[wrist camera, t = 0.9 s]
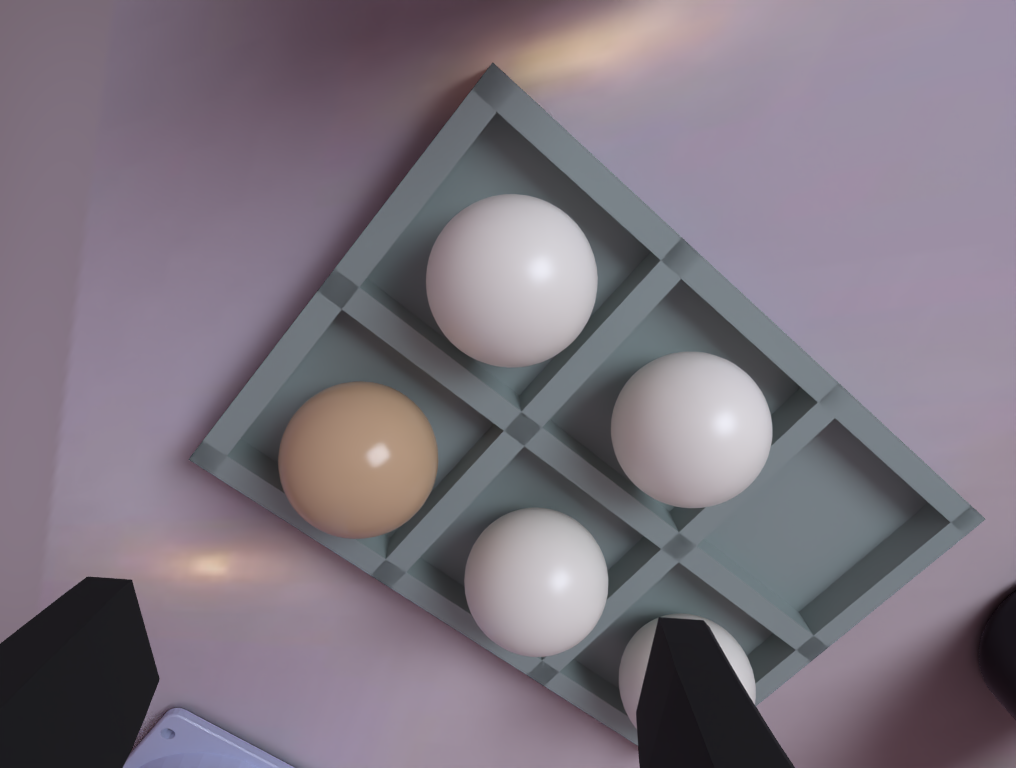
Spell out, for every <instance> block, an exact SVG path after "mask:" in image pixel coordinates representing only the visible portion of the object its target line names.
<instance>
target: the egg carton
mask: <svg viewBox="0 0 1016 768" xmlns="http://www.w3.org/2000/svg"><path fill="white" fill-rule="evenodd" d="M354 381H366V382H374V383H379V384H383V385H386V386H389V387H391V388H393V389H395V390H397V391H399V392H401V393H403V394H404V395H406V396H407V397H408V398H410V399H411V400H412V401H413V402H414V403H415V404H416V405H417V406H418V407H419V408H420V409H421V410H422V412H423V413H424V414H425V416H426V417H427V419H428V421H429V423H430V424H431V426H432V429H433V432H434V435H435V438H436V442H437V446H438V471H437V475H436V479H435V483H434V486H433V488H432V491H431V493H430V495H429V496H428V498H427V500H426V501H425V503H424V505H423V506H422V507H421V508H420V510H419V511H418V512H417V513H416V514H415V515H414V516H413V517H412V518H411V519H410V520H409V521H407V522H406V523H404V524H403V525H402V526H400V527H398V528H396V529H395V530H393V531H391V532H388V533H386V534H383V535H380V536H377V537H372V538H365V539H348V538H341V537H336V536H333V535H330V534H327V533H325V532H323V531H321V530H319V529H317V528H315V527H314V526H312V525H311V524H309V523H308V522H307V521H305V520H304V519H303V518H302V517H301V516H300V515H299V514H298V513H297V512H296V511H295V509H294V508H293V507H292V505H291V504H290V502H289V500H288V499H287V497H286V494H285V492H284V490H283V488H282V484H281V481H280V475H279V469H278V455H279V448H280V443H281V439H282V436H283V434H284V431H285V429H286V427H287V425H288V423H289V421H290V420H291V418H292V417H293V415H294V414H295V413H296V411H297V410H298V409H299V408H300V407H301V406H302V405H303V404H304V403H305V402H306V401H307V400H309V399H310V398H311V397H312V396H314V395H316V394H317V393H319V392H321V391H322V390H324V389H327V388H329V387H331V386H334V385H338V384H341V383H347V382H354ZM189 460H190V461H192V462H193V463H195V464H196V465H198V466H200V467H201V468H203V469H204V470H206V471H207V472H209V473H211V474H212V475H214V476H215V477H217V478H218V479H220V480H222V481H223V482H225V483H226V484H228V485H229V486H231V487H233V488H234V489H236V490H237V491H239V492H240V493H242V494H243V495H245V496H247V497H248V498H250V499H251V500H253V501H254V502H256V503H258V504H259V505H261V506H262V507H264V508H265V509H267V510H269V511H270V512H272V513H273V514H275V515H276V516H278V517H280V518H281V519H283V520H284V521H286V522H287V523H289V524H291V525H292V526H294V527H295V528H297V529H298V530H300V531H302V532H303V533H305V534H306V535H308V536H309V537H311V538H313V539H314V540H316V541H317V542H319V543H320V544H322V545H324V546H325V547H327V548H328V549H330V550H331V551H333V552H334V553H336V554H338V555H339V556H341V557H342V558H344V559H345V560H347V561H349V562H350V563H352V564H353V565H355V566H356V567H358V568H360V569H361V570H363V571H364V572H366V573H367V574H369V575H371V576H372V577H374V578H375V579H377V580H378V581H380V582H382V583H383V584H385V585H386V586H388V587H389V588H391V589H393V590H394V591H396V592H397V593H399V594H400V595H402V596H404V597H405V598H407V599H408V600H410V601H411V602H413V603H415V604H416V605H418V606H419V607H421V608H422V609H424V610H425V611H427V612H429V613H430V614H432V615H433V616H435V617H436V618H438V619H440V620H441V621H443V622H444V623H446V624H447V625H449V626H451V627H452V628H454V629H455V630H457V631H458V632H460V633H462V634H463V635H465V636H466V637H468V638H469V639H471V640H473V641H474V642H476V643H477V644H479V645H480V646H482V647H484V648H485V649H487V650H488V651H490V652H491V653H493V654H495V655H496V656H498V657H499V658H501V659H502V660H504V661H505V662H507V663H509V664H510V665H512V666H513V667H515V668H516V669H518V670H520V671H521V672H523V673H524V674H526V675H527V676H529V677H531V678H532V679H534V680H535V681H537V682H538V683H540V684H542V685H543V686H545V687H546V688H548V689H549V690H551V691H553V692H554V693H556V694H557V695H559V696H560V697H562V698H564V699H565V700H567V701H568V702H570V703H571V704H573V705H575V706H576V707H578V708H579V709H581V710H582V711H584V712H586V713H587V714H589V715H590V716H592V717H593V718H595V719H596V720H598V721H600V722H601V723H603V724H604V725H606V726H607V727H609V728H611V729H612V730H614V731H615V732H617V733H618V734H620V735H622V736H623V737H625V738H626V739H628V740H629V741H631V742H633V743H634V744H636V745H637V746H638V736H637V722H636V710H637V706H638V702H639V698H640V693H641V689H642V685H643V681H644V677H645V672H646V668H647V664H648V660H649V656H650V651H651V647H652V643H653V639H654V635H655V630H656V626H657V622H658V618H659V617H665V618H679V619H694V620H704V621H705V622H706V624H707V625H708V626H709V627H710V629H711V631H712V632H713V634H714V636H715V638H716V640H717V641H718V643H719V645H720V647H721V648H722V650H723V652H724V654H725V655H726V657H727V659H728V661H729V662H730V664H731V666H732V668H733V669H734V671H735V673H736V674H737V676H738V678H739V680H740V681H741V683H742V685H743V686H744V688H745V690H746V691H747V693H748V695H749V696H750V698H751V700H752V701H753V703H754V704H755V706H757V705H758V704H759V703H760V702H762V701H763V700H764V699H765V698H767V697H768V696H769V695H770V694H772V693H773V692H774V691H775V690H776V689H778V688H779V687H780V686H781V685H783V684H784V683H785V682H786V681H787V680H789V679H790V678H791V677H792V676H794V675H795V674H796V673H797V672H799V671H800V670H801V669H802V668H803V667H805V666H806V665H807V664H808V663H810V662H811V661H812V660H813V659H815V658H816V657H817V656H818V655H819V654H821V653H822V652H823V651H824V650H826V649H827V648H828V647H829V646H830V645H832V644H833V643H834V642H835V641H837V640H838V639H839V638H840V637H842V636H843V635H844V634H845V633H846V632H848V631H849V630H850V629H851V628H853V627H854V626H855V625H856V624H858V623H859V622H860V621H861V620H862V619H864V618H865V617H866V616H867V615H869V614H870V613H871V612H872V611H874V610H875V609H876V608H877V607H878V606H880V605H881V604H882V603H883V602H885V601H886V600H887V599H888V598H889V597H891V596H892V595H893V594H894V593H896V592H897V591H898V590H899V589H901V588H902V587H903V586H904V585H905V584H907V583H908V582H909V581H910V580H912V579H913V578H914V577H915V576H917V575H918V574H919V573H920V572H921V571H923V570H924V569H925V568H926V567H928V566H929V565H930V564H931V563H932V562H934V561H935V560H936V559H937V558H939V557H940V556H941V555H942V554H944V553H945V552H946V551H947V550H948V549H950V548H951V547H952V546H953V545H955V544H956V543H957V542H958V541H960V540H961V539H962V538H963V537H964V536H966V535H967V534H968V533H969V532H971V531H972V530H973V529H974V528H976V527H977V526H978V525H979V524H980V523H982V522H983V521H984V520H985V518H984V517H983V516H982V515H980V514H979V513H978V512H977V511H976V510H975V509H974V508H973V507H972V506H971V505H970V504H969V503H968V502H966V501H965V500H964V499H963V498H962V497H961V496H960V495H959V494H958V493H957V492H956V491H955V490H954V489H952V488H951V487H950V486H949V485H948V484H947V483H946V482H945V481H944V480H943V479H942V478H941V477H939V476H938V475H937V474H936V473H935V472H934V471H933V470H932V469H931V468H930V467H929V466H928V465H927V464H925V463H924V462H923V461H922V460H921V459H920V458H919V457H918V456H917V455H916V454H915V453H914V452H913V451H911V450H910V449H909V448H908V447H907V446H906V445H905V444H904V443H903V442H902V441H901V440H900V439H899V438H897V437H896V436H895V435H894V434H893V433H892V432H891V431H890V430H889V429H888V428H887V427H886V426H884V425H883V424H882V423H881V422H880V421H879V420H878V419H877V418H876V417H875V416H874V415H873V414H872V413H870V412H869V411H868V410H867V409H866V408H865V407H864V406H863V405H862V404H861V403H860V402H859V401H858V400H856V399H855V398H854V397H853V396H852V395H851V394H850V393H849V392H848V391H847V390H846V389H845V388H843V387H842V386H841V385H840V384H839V383H838V382H837V381H836V380H835V379H834V378H833V377H832V376H831V375H829V374H828V373H827V372H826V371H825V370H824V369H823V368H822V367H821V366H820V365H819V364H818V363H817V362H815V361H814V360H813V359H812V358H811V357H810V356H809V355H808V354H807V353H806V352H805V351H804V350H803V349H801V348H800V347H799V346H798V345H797V344H796V343H795V342H794V341H793V340H792V339H791V338H790V337H788V336H787V335H786V334H785V333H784V332H783V331H782V330H781V329H780V328H779V327H778V326H777V325H776V324H774V323H773V322H772V321H771V320H770V319H769V318H768V317H767V316H766V315H765V314H764V313H763V312H762V311H760V310H759V309H758V308H757V307H756V306H755V305H754V304H753V303H752V302H751V301H750V300H749V299H747V298H746V297H745V296H744V295H743V294H742V293H741V292H740V291H739V290H738V289H737V288H736V287H735V286H733V285H732V284H731V283H730V282H729V281H728V280H727V279H726V278H725V277H724V276H723V275H722V274H721V273H719V272H718V271H717V270H716V269H715V268H714V267H713V266H712V265H711V264H710V263H709V262H708V261H707V260H705V259H704V258H703V257H702V256H701V255H700V254H699V253H698V252H697V251H696V250H695V249H694V248H692V247H691V246H690V245H689V244H688V243H687V242H686V241H685V240H684V239H683V238H682V237H681V236H680V235H678V234H677V233H676V232H675V231H674V230H673V229H672V228H671V227H670V226H669V225H668V224H667V223H666V222H664V221H663V220H662V219H661V218H660V217H659V216H658V215H657V214H656V213H655V212H654V211H653V210H651V209H650V208H649V207H648V206H647V205H646V204H645V203H644V202H643V201H642V200H641V199H640V198H639V197H637V196H636V195H635V194H634V193H633V192H632V191H631V190H630V189H629V188H628V187H627V186H626V185H625V184H623V183H622V182H621V181H620V180H619V179H618V178H617V177H616V176H615V175H614V174H613V173H612V172H610V171H609V170H608V169H607V168H606V167H605V166H604V165H603V164H602V163H601V162H600V161H599V160H598V159H596V158H595V157H594V156H593V155H592V154H591V153H590V152H589V151H588V150H587V149H586V148H585V147H584V146H582V145H581V144H580V143H579V142H578V141H577V140H576V139H575V138H574V137H573V136H572V135H571V134H570V133H568V132H567V131H566V130H565V129H564V128H563V127H562V126H561V125H560V124H559V123H558V122H557V121H555V120H554V119H553V118H552V117H551V116H550V115H549V114H548V113H547V112H546V111H545V110H544V109H543V108H541V107H540V106H539V105H538V104H537V103H536V102H535V101H534V100H533V99H532V98H531V97H530V96H529V95H527V94H526V93H525V92H524V91H523V90H522V89H521V88H520V87H519V86H518V85H517V84H516V83H514V82H513V81H512V80H511V79H510V78H509V77H508V76H507V75H506V74H505V73H504V72H503V71H502V70H500V69H499V68H498V67H497V66H496V65H495V64H494V63H492V64H491V65H490V67H489V68H488V69H487V71H486V72H485V73H484V74H483V76H482V77H481V78H480V80H479V81H478V82H477V84H476V85H475V86H474V88H473V89H472V90H471V91H470V93H469V94H468V95H467V97H466V98H465V99H464V101H463V102H462V103H461V105H460V106H459V107H458V108H457V110H456V111H455V112H454V114H453V115H452V116H451V118H450V119H449V120H448V121H447V123H446V124H445V125H444V127H443V128H442V129H441V131H440V132H439V133H438V135H437V136H436V137H435V138H434V140H433V141H432V142H431V144H430V145H429V146H428V148H427V149H426V150H425V151H424V153H423V154H422V155H421V157H420V158H419V159H418V161H417V162H416V163H415V165H414V166H413V167H412V168H411V170H410V171H409V172H408V174H407V175H406V176H405V178H404V179H403V180H402V181H401V183H400V184H399V185H398V187H397V188H396V189H395V191H394V192H393V193H392V195H391V196H390V197H389V198H388V200H387V201H386V202H385V204H384V205H383V206H382V208H381V209H380V210H379V212H378V213H377V214H376V215H375V217H374V218H373V219H372V221H371V222H370V223H369V225H368V226H367V227H366V228H365V230H364V231H363V232H362V234H361V235H360V236H359V238H358V239H357V240H356V242H355V243H354V244H353V245H352V247H351V248H350V249H349V251H348V252H347V253H346V255H345V256H344V257H343V258H342V260H341V261H340V262H339V264H338V265H337V266H336V268H335V269H334V270H333V272H332V273H331V274H330V275H329V277H328V278H327V279H326V281H325V282H324V283H323V285H322V286H321V287H320V289H319V290H318V291H317V292H316V294H315V295H314V296H313V298H312V299H311V300H310V302H309V303H308V304H307V305H306V307H305V308H304V309H303V311H302V312H301V313H300V315H299V316H298V317H297V319H296V320H295V321H294V322H293V324H292V325H291V326H290V328H289V329H288V330H287V332H286V333H285V334H284V335H283V337H282V338H281V339H280V341H279V342H278V343H277V345H276V346H275V347H274V349H273V350H272V351H271V352H270V354H269V355H268V356H267V358H266V359H265V360H264V362H263V363H262V364H261V366H260V367H259V368H258V369H257V371H256V372H255V373H254V375H253V376H252V377H251V379H250V380H249V381H248V382H247V384H246V385H245V386H244V388H243V389H242V390H241V392H240V393H239V394H238V396H237V397H236V398H235V399H234V401H233V402H232V403H231V405H230V406H229V407H228V409H227V410H226V411H225V412H224V414H223V415H222V416H221V418H220V419H219V420H218V422H217V423H216V424H215V426H214V427H213V428H212V429H211V431H210V432H209V433H208V435H207V436H206V437H205V439H204V440H203V441H202V443H201V444H200V445H199V446H198V448H197V449H196V450H195V452H194V453H193V454H192V456H191V457H190V458H189Z"/></svg>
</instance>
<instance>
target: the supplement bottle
mask: <svg viewBox="0 0 1016 768" xmlns="http://www.w3.org/2000/svg"><path fill="white" fill-rule="evenodd" d="M979 666H980V670H981V674H982V677H983V679H984V681H985V683H986V685H987V687H988V688H989V689H990V691H991V692H992V693H993V695H994V696H995V697H996V698H997V699H998V701H999V702H1000V703H1001V704H1002V705H1003V706H1004V707H1005V709H1006V710H1007V711H1008V712H1009V713H1010V714H1011V716H1012V717H1013V718H1014V719H1015V720H1016V591H1014V592H1013V593H1012V594H1011V595H1010V596H1009V597H1008V598H1006V599H1005V600H1004V601H1003V602H1002V604H1001V605H1000V606H999V607H998V608H997V609H996V611H995V612H994V613H993V615H992V616H991V618H990V619H989V621H988V623H987V625H986V627H985V629H984V631H983V634H982V637H981V641H980V645H979Z"/></svg>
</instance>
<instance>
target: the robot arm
mask: <svg viewBox="0 0 1016 768" xmlns="http://www.w3.org/2000/svg"><path fill="white" fill-rule="evenodd" d="M158 682H159V675H158V672H157V668H156V665H155V661H154V657H153V654H152V650H151V647H150V643H149V640H148V636H147V632H146V629H145V625H144V622H143V618H142V615H141V611H140V607H139V604H138V600H137V597H136V593H135V590H134V586H133V582H132V580H127V579H113V578H99V577H86V578H85V579H84V580H82V581H81V582H80V583H78V584H77V585H76V586H74V587H73V588H72V589H70V590H69V591H68V592H66V593H65V594H64V595H62V596H61V597H60V598H58V599H57V600H56V601H55V602H53V603H52V604H51V605H49V606H48V607H47V608H45V609H44V610H43V611H42V612H40V613H39V614H38V615H36V616H35V617H34V618H33V619H31V620H30V621H29V622H28V623H26V624H25V625H24V626H22V627H21V628H20V629H19V630H17V631H16V632H15V633H14V634H12V635H11V636H10V637H8V638H7V639H6V640H4V641H3V642H2V643H1V644H0V768H295V767H293V766H291V765H289V764H287V763H285V762H283V761H281V760H280V759H278V758H276V757H274V756H272V755H270V754H268V753H266V752H264V751H263V750H261V749H259V748H257V747H255V746H253V745H251V744H249V743H247V742H246V741H244V740H242V739H240V738H238V737H236V736H234V735H232V734H230V733H229V732H227V731H225V730H223V729H221V728H219V727H217V726H215V725H213V724H212V723H210V722H208V721H206V720H204V719H202V718H200V717H198V716H197V715H195V714H193V713H191V712H189V711H187V710H185V709H182V708H173V709H170V710H169V711H167V712H166V713H165V715H164V716H163V717H162V718H161V719H160V720H159V721H158V723H157V724H156V725H155V726H154V727H153V728H152V729H151V731H150V732H149V733H148V734H147V735H146V736H145V737H144V739H143V740H142V741H141V742H140V743H139V744H138V745H137V747H136V748H135V749H134V750H133V751H132V752H131V750H132V747H133V745H134V742H135V740H136V738H137V735H138V733H139V730H140V728H141V726H142V723H143V721H144V718H145V716H146V713H147V711H148V708H149V705H150V703H151V700H152V698H153V695H154V692H155V690H156V687H157V685H158ZM636 722H637V736H638V750H639V763H640V768H795V767H794V766H793V764H792V763H791V761H790V760H789V758H788V757H787V755H786V754H785V752H784V751H783V749H782V747H781V746H780V744H779V743H778V741H777V740H776V738H775V737H774V735H773V733H772V732H771V730H770V729H769V727H768V726H767V724H766V722H765V721H764V719H763V718H762V716H761V714H760V713H759V711H758V709H757V708H756V706H755V704H754V703H753V701H752V700H751V698H750V696H749V695H748V693H747V691H746V690H745V688H744V686H743V685H742V683H741V681H740V680H739V678H738V676H737V674H736V673H735V671H734V669H733V668H732V666H731V664H730V662H729V661H728V659H727V657H726V655H725V654H724V652H723V650H722V648H721V647H720V645H719V643H718V641H717V640H716V638H715V636H714V634H713V632H712V631H711V629H710V627H709V626H708V625H707V624H706V622H705V621H704V620H694V619H679V618H665V617H659V618H658V622H657V626H656V630H655V635H654V639H653V643H652V647H651V651H650V656H649V660H648V664H647V668H646V672H645V677H644V681H643V685H642V689H641V693H640V698H639V702H638V706H637V710H636ZM169 729H172V730H169ZM130 752H131V754H130ZM129 754H130V755H129Z"/></svg>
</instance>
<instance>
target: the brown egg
mask: <svg viewBox="0 0 1016 768" xmlns="http://www.w3.org/2000/svg"><path fill="white" fill-rule="evenodd" d="M278 469H279V475H280V481H281V484H282V488H283V490H284V492H285V494H286V497H287V499H288V500H289V502H290V504H291V505H292V507H293V508H294V509H295V511H296V512H297V513H298V514H299V515H300V516H301V517H302V518H303V519H304V520H305V521H307V522H308V523H309V524H311V525H312V526H314V527H315V528H317V529H319V530H321V531H323V532H325V533H327V534H330V535H333V536H336V537H341V538H348V539H365V538H372V537H377V536H380V535H383V534H386V533H388V532H391V531H393V530H395V529H396V528H398V527H400V526H402V525H403V524H404V523H406V522H407V521H409V520H410V519H411V518H412V517H413V516H414V515H415V514H416V513H417V512H418V511H419V510H420V508H421V507H422V506H423V505H424V503H425V501H426V500H427V498H428V496H429V495H430V493H431V491H432V488H433V486H434V483H435V479H436V475H437V471H438V446H437V442H436V438H435V435H434V432H433V429H432V426H431V424H430V423H429V421H428V419H427V417H426V416H425V414H424V413H423V412H422V410H421V409H420V408H419V407H418V406H417V405H416V404H415V403H414V402H413V401H412V400H411V399H410V398H408V397H407V396H406V395H404V394H403V393H401V392H399V391H397V390H395V389H393V388H391V387H389V386H386V385H383V384H379V383H374V382H366V381H354V382H347V383H341V384H338V385H334V386H331V387H329V388H327V389H324V390H322V391H321V392H319V393H317V394H316V395H314V396H312V397H311V398H310V399H309V400H307V401H306V402H305V403H304V404H303V405H302V406H301V407H300V408H299V409H298V410H297V411H296V413H295V414H294V415H293V417H292V418H291V420H290V421H289V423H288V425H287V427H286V429H285V431H284V434H283V436H282V439H281V443H280V448H279V455H278Z"/></svg>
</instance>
